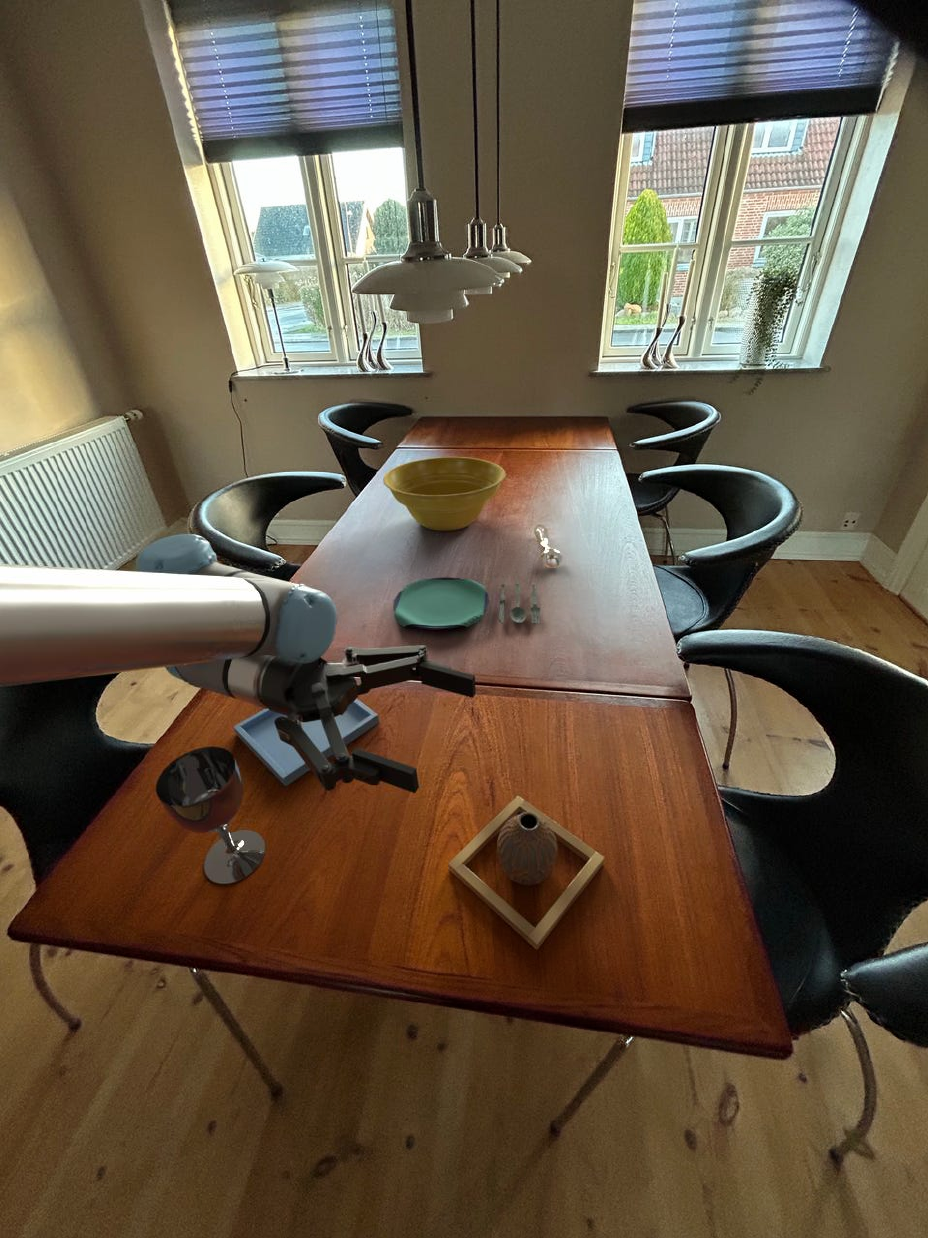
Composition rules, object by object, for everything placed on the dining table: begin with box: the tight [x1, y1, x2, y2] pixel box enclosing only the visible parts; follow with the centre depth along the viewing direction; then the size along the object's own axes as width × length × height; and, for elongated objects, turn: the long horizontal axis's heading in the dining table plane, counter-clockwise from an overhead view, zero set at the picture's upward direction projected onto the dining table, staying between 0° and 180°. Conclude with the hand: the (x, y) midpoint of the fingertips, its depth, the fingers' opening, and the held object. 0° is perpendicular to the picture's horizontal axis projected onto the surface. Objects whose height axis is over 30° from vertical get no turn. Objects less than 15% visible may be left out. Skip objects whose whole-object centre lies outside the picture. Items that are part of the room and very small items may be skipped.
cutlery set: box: [393, 576, 541, 631], centre depth 109 cm, size 20×30×2 cm, turn 86°
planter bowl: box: [382, 456, 506, 532], centre depth 143 cm, size 32×32×13 cm
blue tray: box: [232, 698, 380, 787], centre depth 82 cm, size 17×15×2 cm
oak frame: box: [447, 795, 605, 950], centre depth 62 cm, size 13×13×1 cm
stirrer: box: [533, 524, 563, 568], centre depth 130 cm, size 20×4×5 cm
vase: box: [496, 812, 559, 886], centre depth 60 cm, size 7×7×9 cm
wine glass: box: [155, 746, 266, 885], centre depth 61 cm, size 8×8×15 cm
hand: (448, 729), depth 53 cm, fingers open, 13 cm apart
